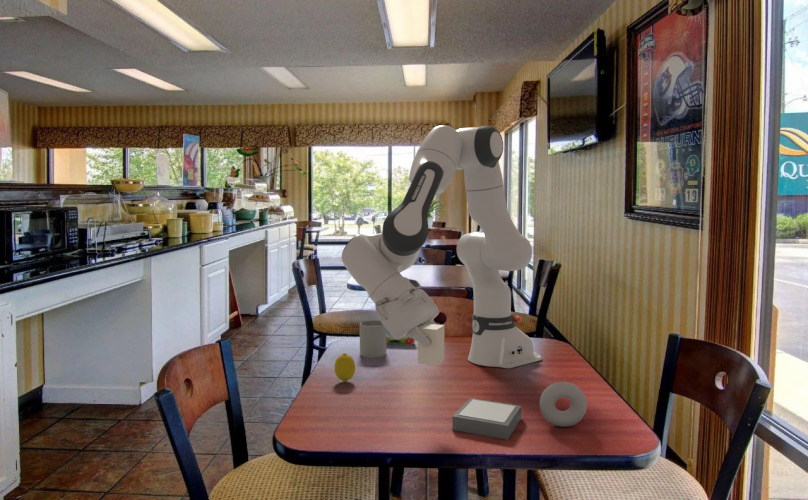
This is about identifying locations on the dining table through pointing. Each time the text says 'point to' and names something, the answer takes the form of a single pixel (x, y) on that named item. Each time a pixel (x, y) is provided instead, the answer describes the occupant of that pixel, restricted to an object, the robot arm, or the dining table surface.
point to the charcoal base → (487, 418)
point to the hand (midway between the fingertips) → (433, 341)
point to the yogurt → (404, 340)
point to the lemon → (344, 367)
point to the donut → (560, 391)
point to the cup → (372, 339)
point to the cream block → (432, 345)
